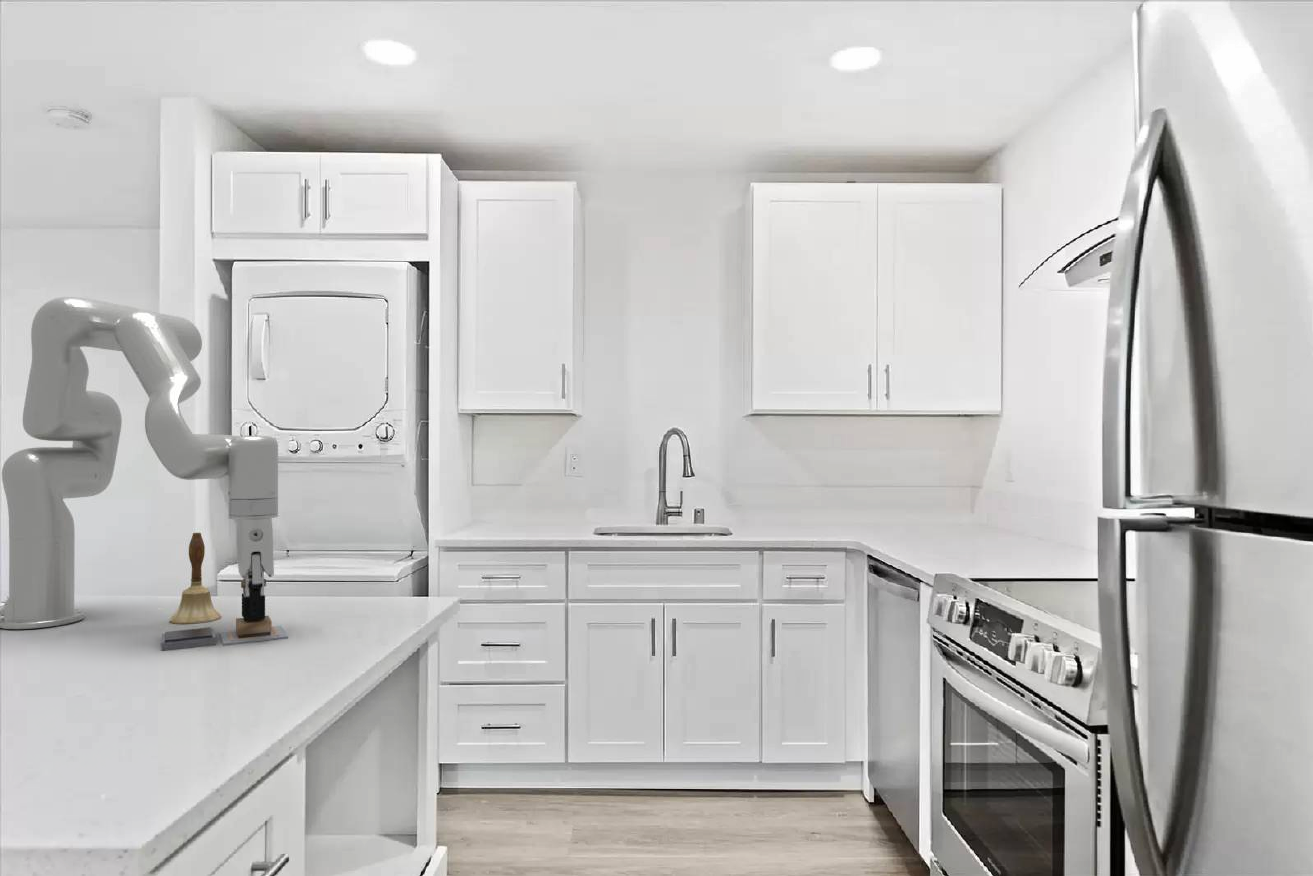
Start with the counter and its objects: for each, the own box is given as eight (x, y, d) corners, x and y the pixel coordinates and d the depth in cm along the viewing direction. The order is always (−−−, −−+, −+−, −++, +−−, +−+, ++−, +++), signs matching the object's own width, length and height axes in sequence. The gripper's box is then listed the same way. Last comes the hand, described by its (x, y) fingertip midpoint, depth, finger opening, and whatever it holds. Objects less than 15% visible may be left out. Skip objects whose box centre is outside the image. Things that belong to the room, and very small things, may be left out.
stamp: (237, 638, 135) (238, 583, 135) (235, 632, 140) (236, 579, 140) (271, 635, 138) (271, 581, 138) (268, 629, 142) (268, 577, 142)
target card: (223, 645, 132) (223, 642, 132) (220, 633, 140) (220, 631, 140) (287, 638, 137) (287, 635, 137) (280, 627, 145) (280, 624, 145)
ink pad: (161, 650, 129) (161, 641, 129) (161, 640, 135) (161, 631, 135) (215, 644, 132) (215, 635, 132) (213, 635, 139) (213, 626, 139)
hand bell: (230, 615, 155) (230, 530, 156) (202, 625, 147) (202, 535, 147) (189, 614, 156) (189, 530, 156) (158, 624, 148) (159, 535, 148)
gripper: (283, 511, 134) (283, 625, 133) (272, 505, 148) (272, 607, 148) (231, 513, 130) (231, 630, 130) (225, 506, 144) (225, 612, 144)
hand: (253, 617), depth 139 cm, fingers closed on stamp, 3 cm apart
